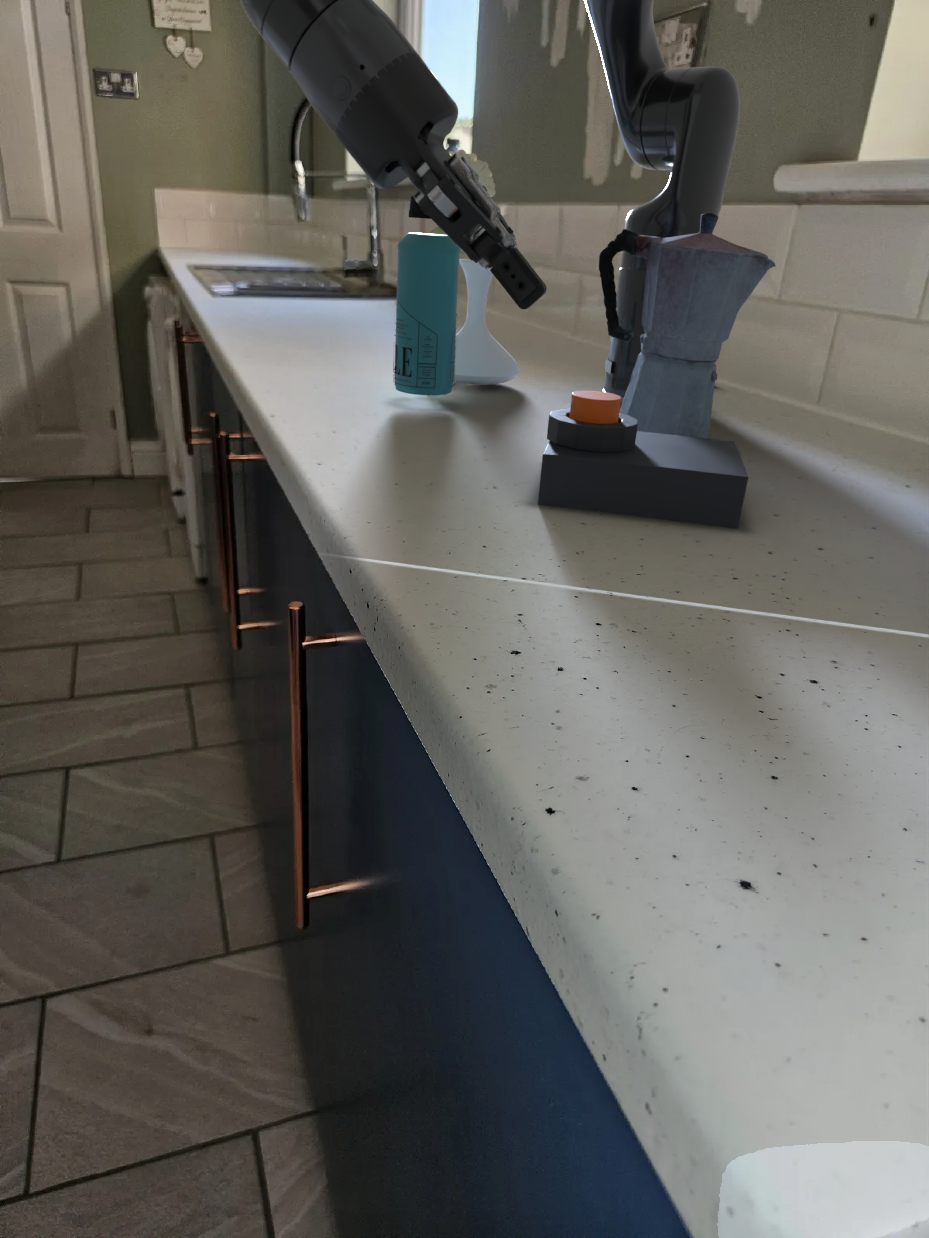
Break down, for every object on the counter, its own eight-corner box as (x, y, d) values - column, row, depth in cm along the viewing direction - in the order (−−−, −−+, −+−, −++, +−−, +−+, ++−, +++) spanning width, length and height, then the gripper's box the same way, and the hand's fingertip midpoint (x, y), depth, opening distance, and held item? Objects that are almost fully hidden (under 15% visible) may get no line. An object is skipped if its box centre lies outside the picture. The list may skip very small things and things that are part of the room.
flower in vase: (529, 381, 109) (550, 157, 99) (501, 395, 100) (520, 148, 89) (434, 369, 113) (444, 152, 103) (397, 381, 103) (404, 143, 93)
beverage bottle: (464, 405, 93) (478, 198, 85) (429, 413, 88) (440, 194, 80) (415, 395, 96) (423, 195, 88) (378, 403, 91) (383, 191, 83)
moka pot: (742, 459, 79) (792, 217, 70) (573, 440, 81) (601, 204, 73) (734, 437, 87) (777, 218, 79) (581, 420, 90) (607, 206, 81)
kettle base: (533, 504, 62) (541, 427, 60) (550, 466, 72) (557, 399, 70) (737, 529, 60) (754, 450, 58) (726, 486, 70) (739, 418, 68)
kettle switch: (566, 425, 63) (570, 397, 62) (571, 415, 66) (574, 388, 66) (616, 430, 63) (620, 402, 62) (618, 420, 66) (622, 393, 65)
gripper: (386, 28, 51) (569, 267, 55) (437, 65, 63) (585, 260, 66) (302, 126, 54) (480, 347, 58) (365, 144, 66) (510, 327, 69)
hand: (536, 300), depth 62 cm, fingers closed
